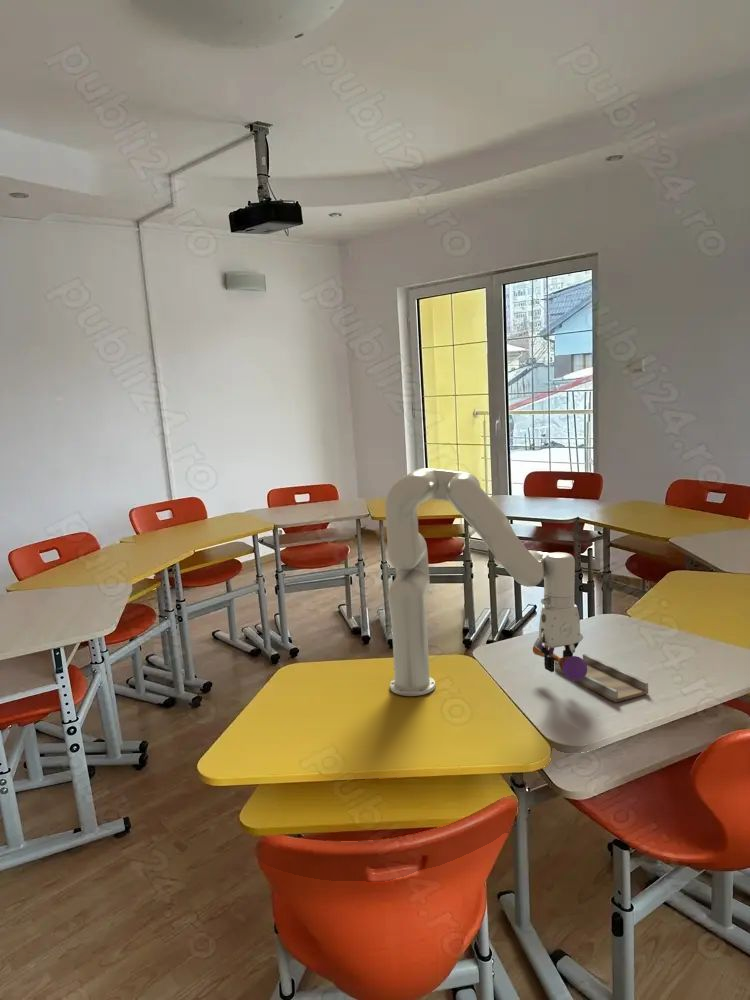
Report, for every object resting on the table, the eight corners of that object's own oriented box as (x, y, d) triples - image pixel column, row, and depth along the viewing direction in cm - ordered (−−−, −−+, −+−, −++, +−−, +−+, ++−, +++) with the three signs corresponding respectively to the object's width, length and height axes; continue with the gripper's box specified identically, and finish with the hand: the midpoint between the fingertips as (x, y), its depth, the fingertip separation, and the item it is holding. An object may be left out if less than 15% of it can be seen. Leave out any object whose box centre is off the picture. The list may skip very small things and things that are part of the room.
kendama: (548, 638, 184) (593, 660, 165) (545, 659, 184) (590, 684, 166) (529, 637, 182) (573, 660, 163) (527, 659, 183) (570, 683, 164)
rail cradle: (554, 670, 188) (554, 661, 188) (585, 663, 192) (584, 654, 192) (615, 702, 166) (615, 691, 166) (648, 693, 170) (648, 682, 170)
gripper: (540, 609, 165) (540, 679, 167) (595, 600, 171) (594, 667, 174) (522, 601, 172) (522, 669, 174) (576, 593, 178) (575, 658, 181)
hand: (558, 667), depth 174 cm, fingers closed on kendama, 5 cm apart
